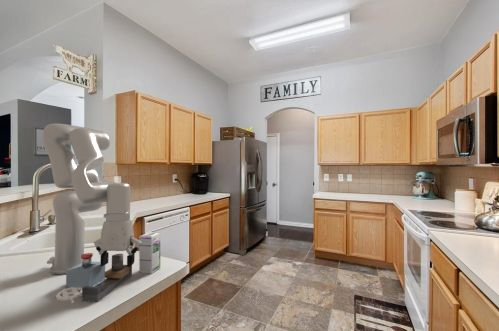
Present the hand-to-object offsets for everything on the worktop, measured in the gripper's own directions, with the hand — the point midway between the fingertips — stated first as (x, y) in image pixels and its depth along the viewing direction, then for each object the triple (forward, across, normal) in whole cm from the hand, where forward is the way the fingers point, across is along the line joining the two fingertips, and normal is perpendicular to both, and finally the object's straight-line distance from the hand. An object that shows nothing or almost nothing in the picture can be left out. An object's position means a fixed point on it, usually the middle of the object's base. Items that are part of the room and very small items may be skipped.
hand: (117, 265), depth 83 cm
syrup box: (+6, +7, +10) cm, 14 cm away
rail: (+6, 0, -4) cm, 7 cm away
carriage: (+4, 0, 0) cm, 4 cm away
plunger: (0, -10, -2) cm, 10 cm away
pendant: (+6, -8, -10) cm, 15 cm away
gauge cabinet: (+6, -10, -2) cm, 12 cm away
